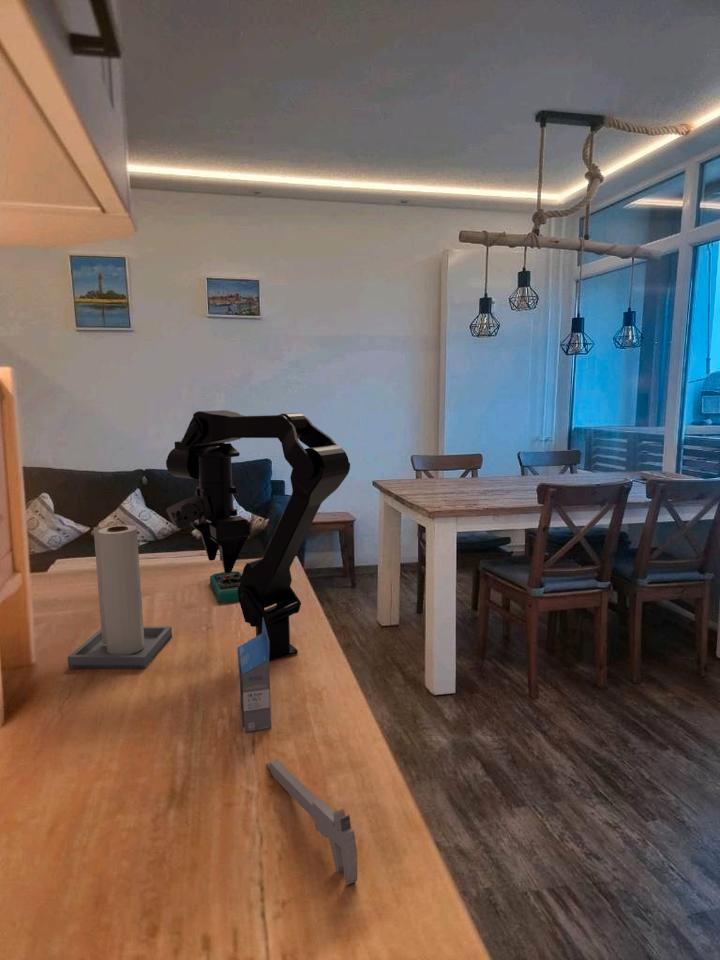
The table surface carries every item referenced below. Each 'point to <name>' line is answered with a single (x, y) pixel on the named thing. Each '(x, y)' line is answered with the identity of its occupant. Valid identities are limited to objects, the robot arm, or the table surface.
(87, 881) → the table surface
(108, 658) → the tray
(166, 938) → the table surface
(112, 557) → the paper towel roll
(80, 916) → the table surface
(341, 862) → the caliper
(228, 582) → the digital multimeter
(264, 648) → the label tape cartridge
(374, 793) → the table surface
